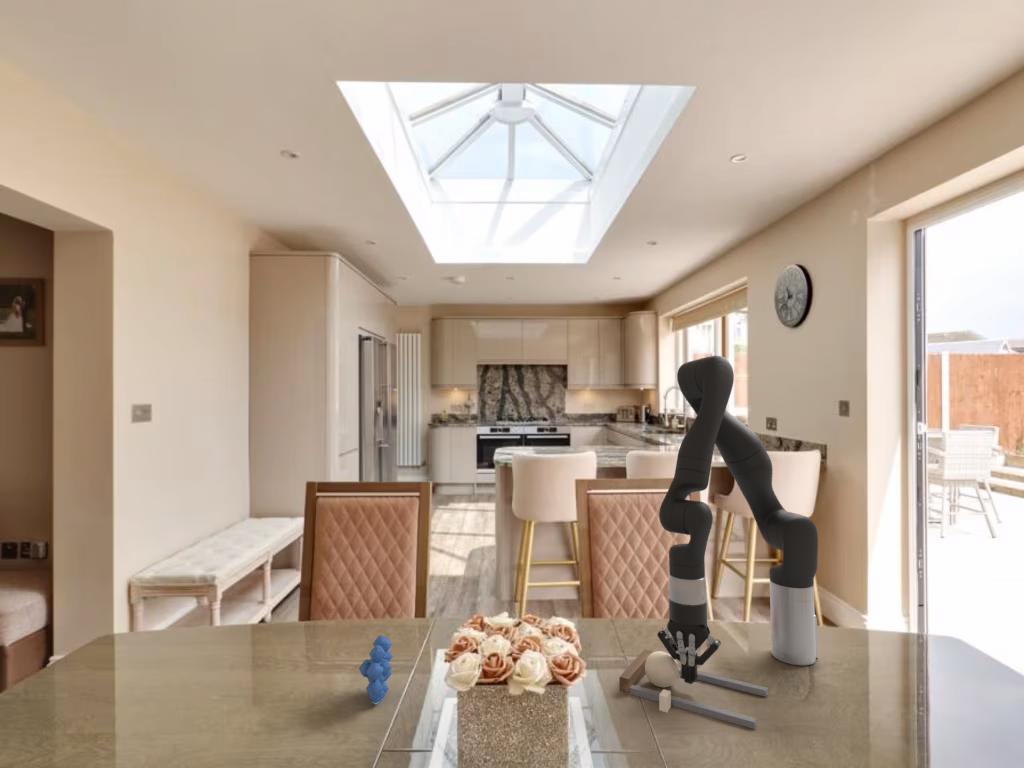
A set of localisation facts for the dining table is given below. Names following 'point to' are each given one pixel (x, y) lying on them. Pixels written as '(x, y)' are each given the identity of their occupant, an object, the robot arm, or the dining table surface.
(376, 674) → the grapes
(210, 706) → the dining table surface
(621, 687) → the backstop
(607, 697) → the dining table surface
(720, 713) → the rails
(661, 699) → the line posts
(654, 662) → the cream round ball
